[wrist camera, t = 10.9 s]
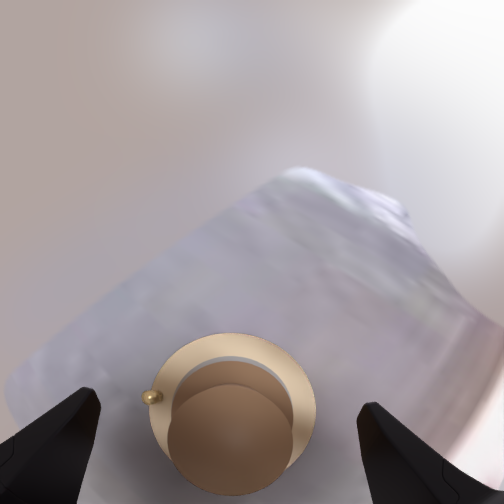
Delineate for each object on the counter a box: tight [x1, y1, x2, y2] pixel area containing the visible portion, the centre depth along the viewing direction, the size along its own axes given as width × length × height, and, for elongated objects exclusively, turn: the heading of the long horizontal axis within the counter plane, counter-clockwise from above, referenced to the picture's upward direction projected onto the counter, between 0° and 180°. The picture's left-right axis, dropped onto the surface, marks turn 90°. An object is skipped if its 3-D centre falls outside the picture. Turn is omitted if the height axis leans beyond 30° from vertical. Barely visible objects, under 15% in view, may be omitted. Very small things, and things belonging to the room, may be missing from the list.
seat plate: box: [142, 333, 316, 469], centre depth 17 cm, size 12×12×3 cm
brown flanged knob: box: [167, 361, 293, 496], centre depth 13 cm, size 8×8×9 cm
